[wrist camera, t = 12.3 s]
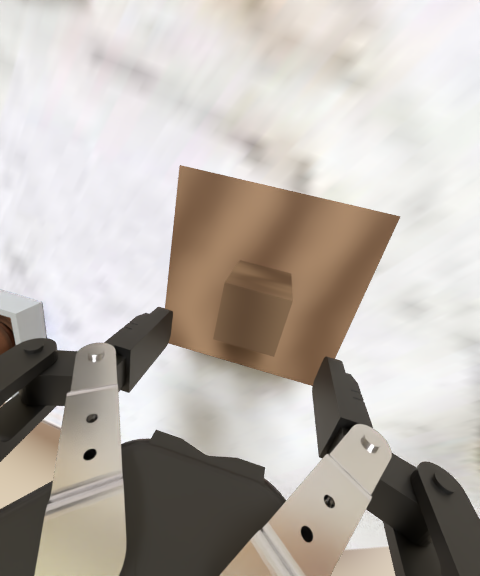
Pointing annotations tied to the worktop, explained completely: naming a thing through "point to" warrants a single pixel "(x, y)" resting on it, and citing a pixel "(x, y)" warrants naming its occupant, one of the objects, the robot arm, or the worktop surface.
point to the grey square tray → (23, 316)
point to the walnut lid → (268, 272)
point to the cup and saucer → (6, 334)
